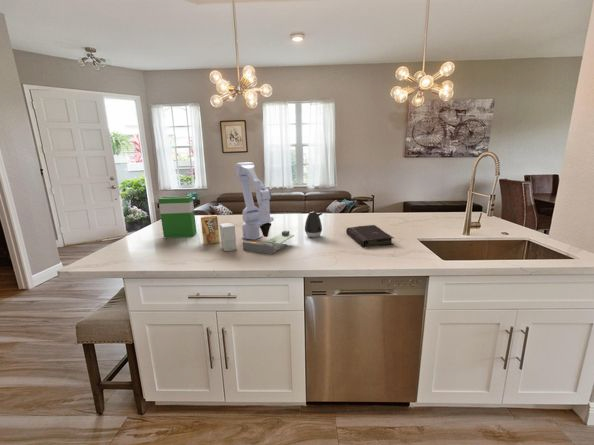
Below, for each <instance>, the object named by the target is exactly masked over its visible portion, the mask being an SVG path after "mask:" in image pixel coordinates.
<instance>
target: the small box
mask: <svg viewBox="0 0 594 445" xmlns="http://www.w3.org/2000/svg"><path fill="white" fill-rule="evenodd" d="M219 232H220V233H219V234H220V240H221V242H220V243H221V248H222V250H223V251H224V252H229V251H235V250H237V239H236V238H237V237H236V226H235V225H234V224H233V223H232V222H227V223H226V222H225V223H224V222H223V223H219Z"/></svg>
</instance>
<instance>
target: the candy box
mask: <svg viewBox="0 0 594 445" xmlns="http://www.w3.org/2000/svg"><path fill="white" fill-rule="evenodd" d="M200 223H201V233H202V242H203V245H209V244H215V243H221V242H220V240H221V239H220V233H219V232H220V228H219V220H218V216H217V214H213V215H203V216H200Z"/></svg>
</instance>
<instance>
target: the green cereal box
mask: <svg viewBox="0 0 594 445" xmlns="http://www.w3.org/2000/svg"><path fill="white" fill-rule="evenodd" d="M157 201H158V206H159V212H160V213H159V214H160V220H161V221H160V222H161V227H162V235H163V238H164V237H172V238H188V237H189V238H193V237H195V236H196V235H197V233H198V232H197V223H196V222H197V221H196V217H195V216H196V215H195V207H194V198H193V195H179V196H178V195H177V196H175V195H174V196H171V195H170V196H162V198H158V200H157Z"/></svg>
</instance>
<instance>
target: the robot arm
mask: <svg viewBox="0 0 594 445" xmlns="http://www.w3.org/2000/svg"><path fill="white" fill-rule="evenodd" d="M255 168H256V167H255V163H254V162H253V161H250V162H249V161H248V162H237V163H236V164H235V168H234V169H235V175H236V177H237V179H238V180H239V182H240V186H241V191H242V196H243V200H244V205H245V207H244V208H243V209H242V212H241V213H242V220H243V224H242V228H241V229H242V238H243V239H248V240H253V241H254V240H255V241H256V240H257V239H260V238H262V237H263V238H267V237H269V232H270V228H271V226H272V223H273V222H274V220H275V219H274V217H273V216H271V207H270V205H271V204H270V200H271V198H272V193H271V190H270V189H268V188H267V187H265V185H264V183H263V181H262V180H261V179H259V178H258V175H257V173H256V171H255V170H256V169H255ZM250 181H251V184H250ZM251 187H252V188H253V190H254V192H255V196H256V200H257V201H256V202H257V204H258V207H257V206H256V205H255V202H254V199H253V198H254V197H253V194H252V188H251ZM260 231H261V233H262V234H260Z"/></svg>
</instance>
